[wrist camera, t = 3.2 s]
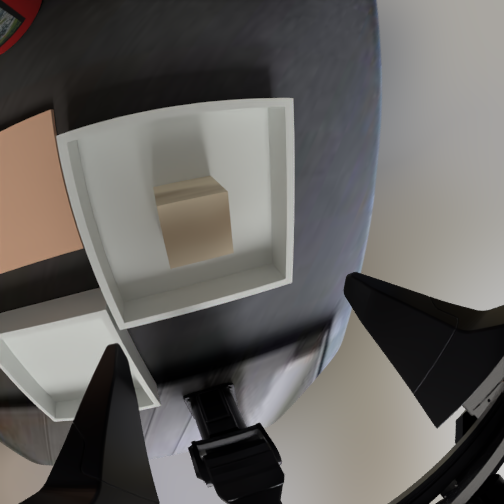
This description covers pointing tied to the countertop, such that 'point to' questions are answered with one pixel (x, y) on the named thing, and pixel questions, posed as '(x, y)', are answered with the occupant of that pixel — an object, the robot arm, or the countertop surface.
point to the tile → (33, 195)
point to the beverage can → (15, 20)
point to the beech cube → (194, 220)
